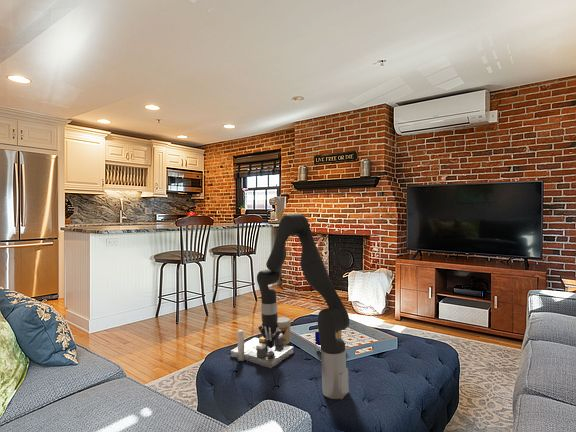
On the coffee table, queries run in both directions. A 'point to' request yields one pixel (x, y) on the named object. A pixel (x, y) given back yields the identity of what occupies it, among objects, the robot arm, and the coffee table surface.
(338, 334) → the puzzle cube
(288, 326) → the coffee cup
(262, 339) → the toggle
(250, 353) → the breaker panel
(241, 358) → the post
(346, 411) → the coffee table surface
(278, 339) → the toggle
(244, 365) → the coffee table surface
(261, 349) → the toggle
